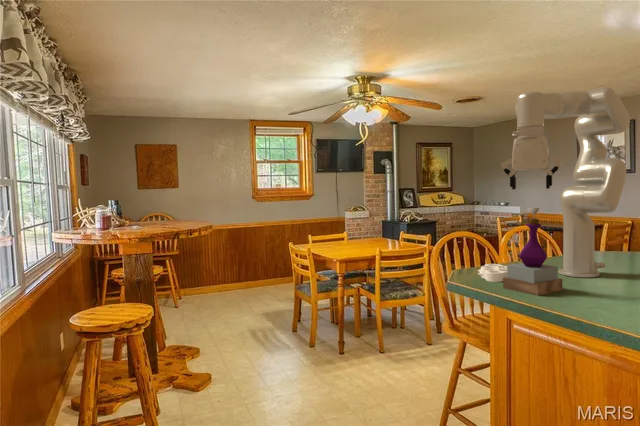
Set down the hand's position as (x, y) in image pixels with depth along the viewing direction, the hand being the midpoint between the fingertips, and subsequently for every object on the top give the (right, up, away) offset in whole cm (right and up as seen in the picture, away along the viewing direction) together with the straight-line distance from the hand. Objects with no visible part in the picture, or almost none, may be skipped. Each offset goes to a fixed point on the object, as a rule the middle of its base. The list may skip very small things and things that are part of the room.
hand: (530, 188), depth 136 cm
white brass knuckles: (-2, -31, +20) cm, 37 cm away
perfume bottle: (+1, -24, 0) cm, 24 cm away
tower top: (+1, -28, 0) cm, 28 cm away
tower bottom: (+1, -32, +1) cm, 32 cm away
